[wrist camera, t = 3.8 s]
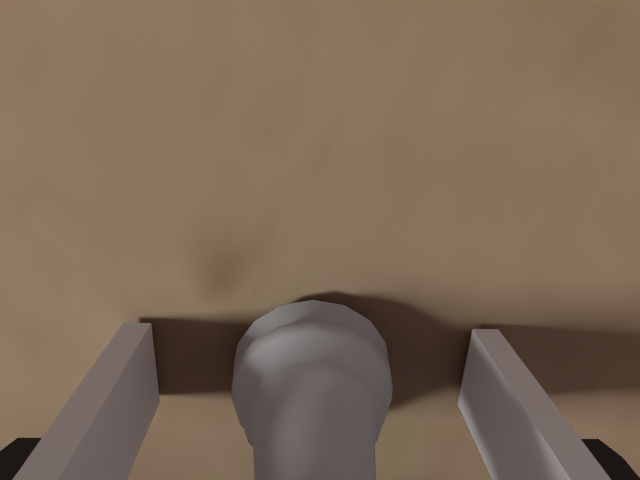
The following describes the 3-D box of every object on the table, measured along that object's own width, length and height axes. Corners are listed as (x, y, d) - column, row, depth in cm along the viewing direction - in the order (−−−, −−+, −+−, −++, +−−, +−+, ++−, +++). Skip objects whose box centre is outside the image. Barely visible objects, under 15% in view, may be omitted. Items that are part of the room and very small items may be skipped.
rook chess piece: (209, 323, 12) (69, 707, 5) (357, 268, 12) (447, 600, 5) (273, 434, 14) (239, 852, 7) (405, 389, 14) (532, 782, 6)
